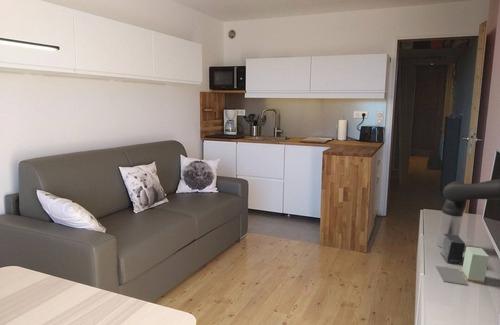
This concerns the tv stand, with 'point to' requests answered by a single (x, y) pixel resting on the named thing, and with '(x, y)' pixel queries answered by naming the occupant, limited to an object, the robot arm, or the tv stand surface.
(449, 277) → the mat
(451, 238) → the small box
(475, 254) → the sage block
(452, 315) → the tv stand surface
